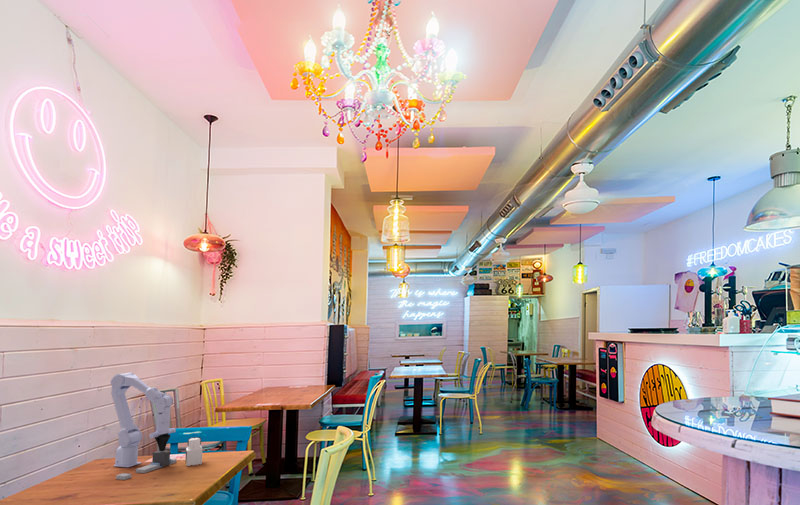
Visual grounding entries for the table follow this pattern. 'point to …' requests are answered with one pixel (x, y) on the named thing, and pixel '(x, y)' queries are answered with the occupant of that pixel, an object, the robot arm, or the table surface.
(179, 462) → the table surface
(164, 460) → the grey tapered block
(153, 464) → the flanged white bar
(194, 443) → the medicine bottle
